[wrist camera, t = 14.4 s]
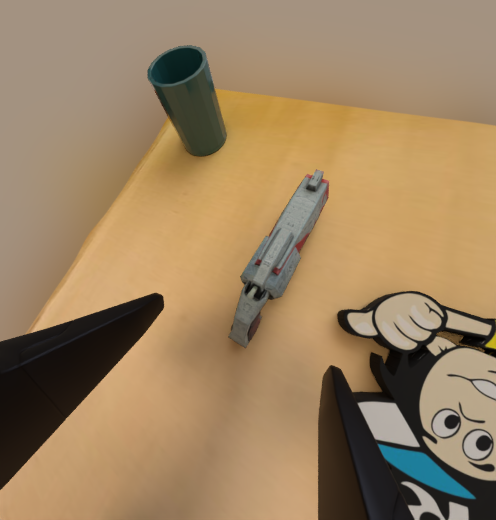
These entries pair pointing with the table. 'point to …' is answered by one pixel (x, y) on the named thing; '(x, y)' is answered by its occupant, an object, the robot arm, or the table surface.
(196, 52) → the pen holder
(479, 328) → the toy
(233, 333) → the toy gun
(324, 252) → the table surface
